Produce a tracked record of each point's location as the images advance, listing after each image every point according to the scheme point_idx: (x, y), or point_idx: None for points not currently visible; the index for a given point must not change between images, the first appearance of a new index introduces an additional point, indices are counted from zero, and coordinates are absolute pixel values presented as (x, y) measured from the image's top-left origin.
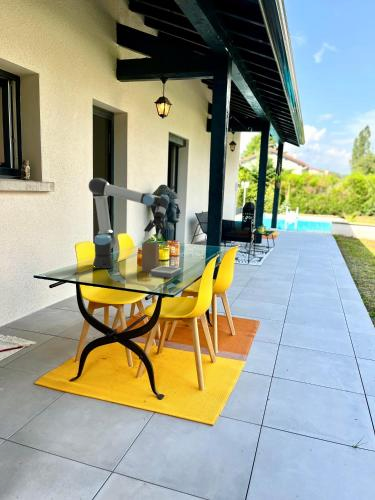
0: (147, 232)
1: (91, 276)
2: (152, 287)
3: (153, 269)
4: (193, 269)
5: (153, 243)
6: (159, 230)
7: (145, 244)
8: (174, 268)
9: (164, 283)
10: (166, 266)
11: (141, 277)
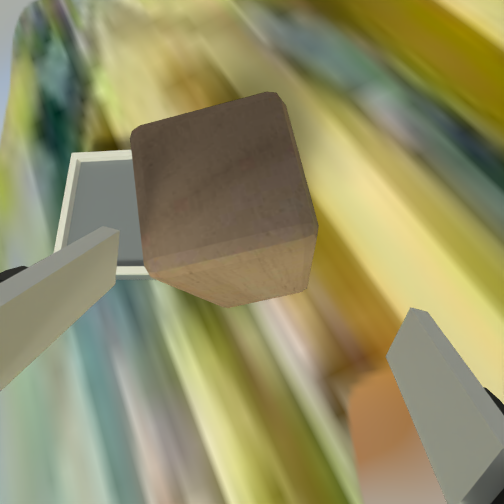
0: (472, 450)
1: (462, 10)
2: (112, 18)
3: None
4: (27, 418)
5: (163, 157)
6: (19, 292)
7: (236, 100)
8: None
9: (88, 81)
10: (144, 271)
11: None
